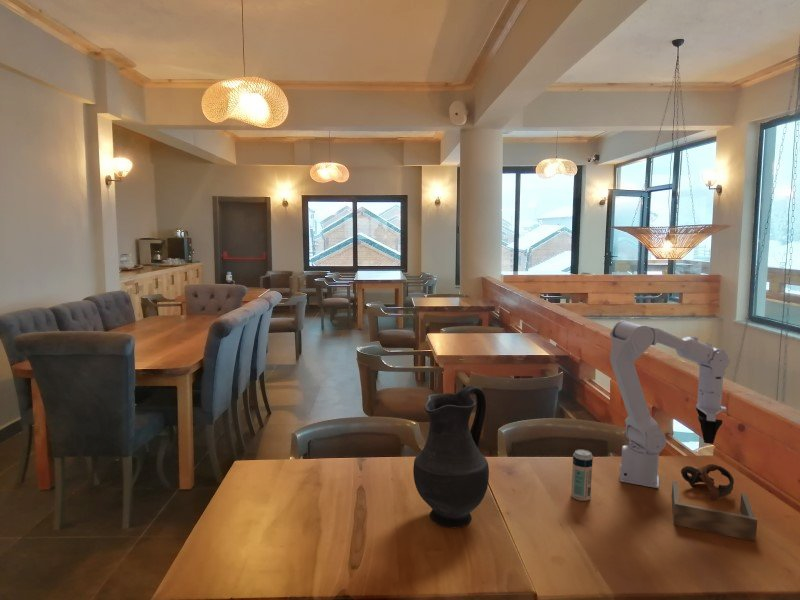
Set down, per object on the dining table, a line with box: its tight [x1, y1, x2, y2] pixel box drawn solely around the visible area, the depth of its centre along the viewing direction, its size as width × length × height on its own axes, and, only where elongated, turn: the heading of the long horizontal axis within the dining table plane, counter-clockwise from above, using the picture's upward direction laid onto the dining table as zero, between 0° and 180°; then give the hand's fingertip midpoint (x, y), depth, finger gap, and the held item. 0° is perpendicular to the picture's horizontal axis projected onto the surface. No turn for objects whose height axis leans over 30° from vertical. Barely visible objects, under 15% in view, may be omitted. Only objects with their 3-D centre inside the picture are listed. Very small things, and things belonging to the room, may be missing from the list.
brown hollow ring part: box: [680, 463, 735, 500], centre depth 142 cm, size 12×10×8 cm
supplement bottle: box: [570, 448, 594, 502], centre depth 137 cm, size 5×5×12 cm
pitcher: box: [413, 384, 490, 528], centre depth 127 cm, size 17×21×30 cm
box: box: [671, 480, 758, 542], centre depth 129 cm, size 16×16×5 cm
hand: (707, 438), depth 150 cm, fingers open, 7 cm apart
